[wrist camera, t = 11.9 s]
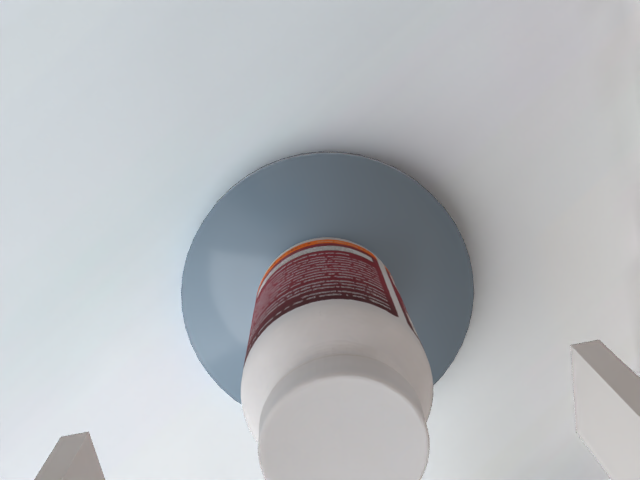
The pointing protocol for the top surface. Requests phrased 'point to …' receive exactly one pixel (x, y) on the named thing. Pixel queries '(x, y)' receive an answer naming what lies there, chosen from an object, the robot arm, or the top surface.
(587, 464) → the top surface
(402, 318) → the pill bottle
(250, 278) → the dish
